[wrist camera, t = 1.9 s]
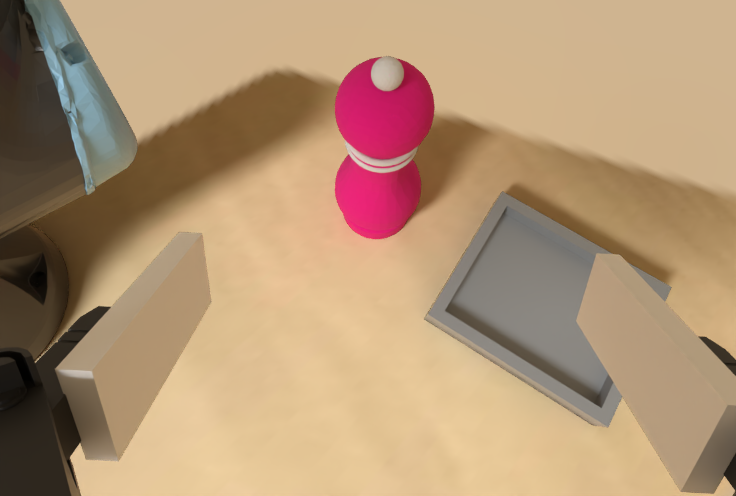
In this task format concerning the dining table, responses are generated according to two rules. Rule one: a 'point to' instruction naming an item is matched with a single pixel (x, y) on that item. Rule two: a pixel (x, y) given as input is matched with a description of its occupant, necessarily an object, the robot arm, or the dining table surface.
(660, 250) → the dining table surface
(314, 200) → the dining table surface
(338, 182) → the pepper mill
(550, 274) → the tray
